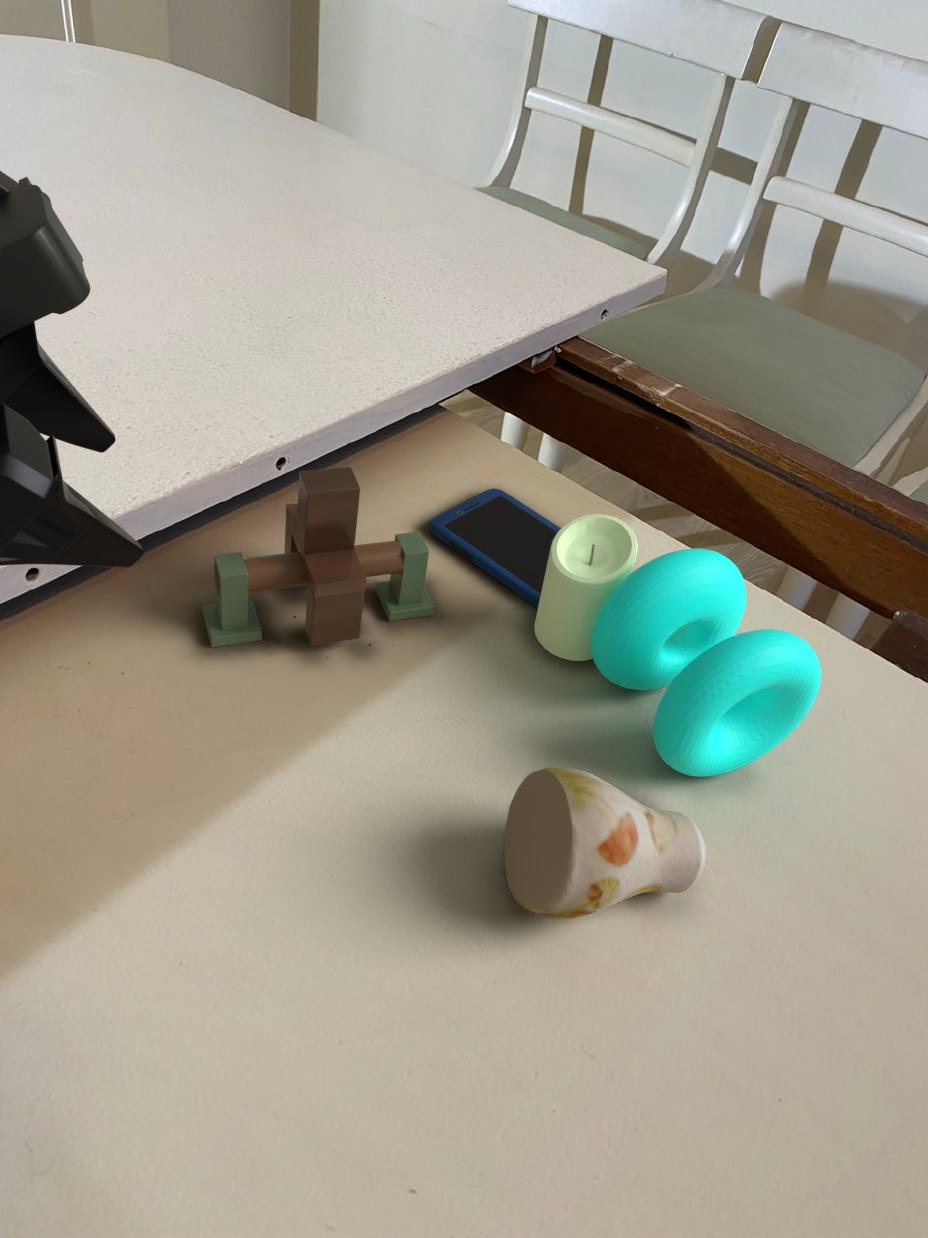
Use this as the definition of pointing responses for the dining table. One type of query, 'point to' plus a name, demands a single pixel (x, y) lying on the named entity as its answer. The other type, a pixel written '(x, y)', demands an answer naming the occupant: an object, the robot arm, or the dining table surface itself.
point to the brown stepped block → (328, 552)
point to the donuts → (704, 662)
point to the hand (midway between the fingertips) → (122, 498)
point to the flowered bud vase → (592, 845)
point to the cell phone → (500, 539)
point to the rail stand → (242, 575)
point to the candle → (582, 581)
